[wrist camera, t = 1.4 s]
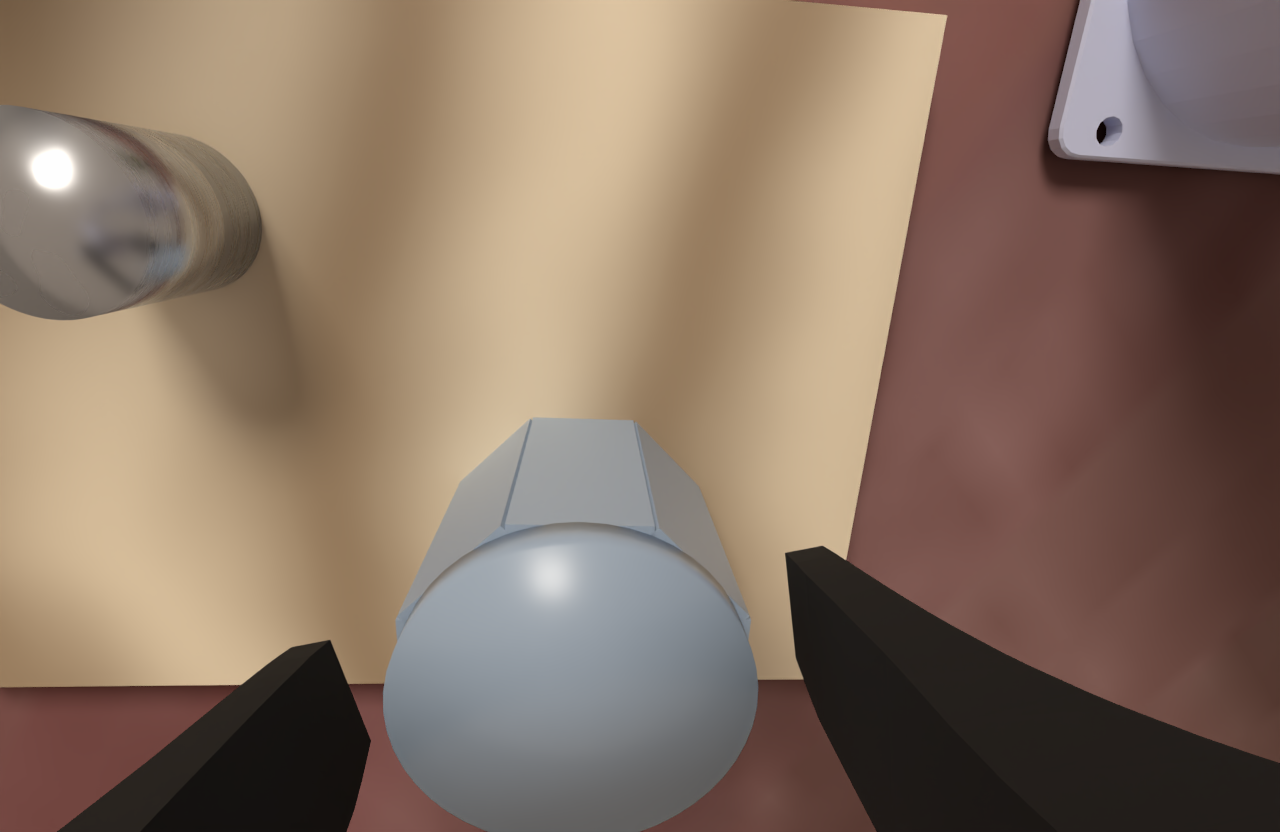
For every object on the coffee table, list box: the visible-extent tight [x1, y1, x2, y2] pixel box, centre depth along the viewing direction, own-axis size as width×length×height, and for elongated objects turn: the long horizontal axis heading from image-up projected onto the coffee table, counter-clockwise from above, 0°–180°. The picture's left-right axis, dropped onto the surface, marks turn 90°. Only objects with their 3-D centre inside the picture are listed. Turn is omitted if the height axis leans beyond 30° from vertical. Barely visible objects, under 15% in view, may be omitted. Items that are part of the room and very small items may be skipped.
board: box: [0, 0, 947, 687], centre depth 12 cm, size 20×14×1 cm
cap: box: [383, 417, 758, 832], centre depth 11 cm, size 5×5×5 cm
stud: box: [0, 105, 262, 320], centre depth 9 cm, size 3×3×3 cm
